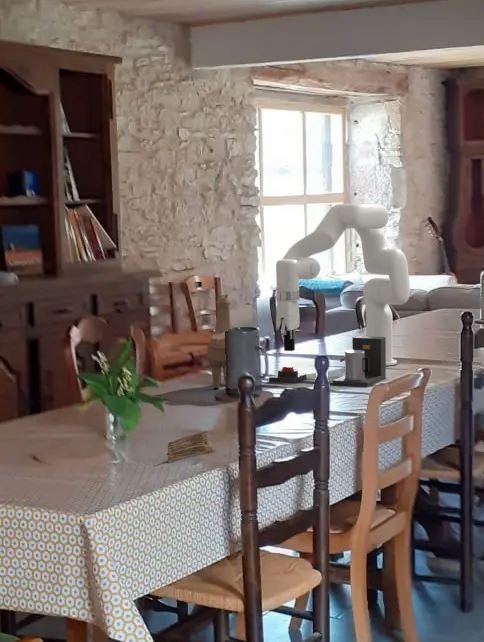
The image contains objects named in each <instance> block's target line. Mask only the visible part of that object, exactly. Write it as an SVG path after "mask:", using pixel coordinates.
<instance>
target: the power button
mask: <svg viewBox="0 0 484 642" xmlns="http://www.w3.org/2000/svg"><path fill="white" fill-rule="evenodd" d="M281 369H282V371H293V369H294V365H282V367H281Z"/></svg>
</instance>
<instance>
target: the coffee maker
mask: <svg viewBox="0 0 484 642" xmlns="http://www.w3.org/2000/svg"><path fill="white" fill-rule="evenodd" d="M351 343H352V350H362V351H365V357H368V358H369V372H365V379H363V380H348V379H345V374H344V375H342V376H340V377H338V378H334V379H333V380H332V385H333V386H345V387H359V388H361V387H362V388H368V387H371V386H373V385H375V384H377V383H379V382H381V381H383V380H385V379H386V378H387V377H386V374H387V372H386V371H387V370H386V369H387V366H386V337H371V336H366V335H356V336H353V337H352V342H351ZM365 369H366V360H365Z"/></svg>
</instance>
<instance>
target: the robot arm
mask: <svg viewBox="0 0 484 642" xmlns="http://www.w3.org/2000/svg"><path fill="white" fill-rule="evenodd" d="M389 220H390V215H389V210H388V209H387V208H386V206H384V205H382V204H363V203H338V204H335V205H333V206H331V207H330V209H329V210H328V211H327V213H326V214H325V216H324V217H323V218H322V220H321V221H320V223H318V225H317V226H316V228H315V229H314V230H313V231H312V232H311V233H309V234H307V235H305V236H304V237H303V238H301V239H299V240H298V241H297V242H295V243H294V244H292V246H291V247H290V248H289V249H288V250H287V252H286V253H285V255H283V258H282V259H278V260H277V261H276V263H275V269H276V270H275V272H276V273H275V274H276V275H275V277H276V278H275V279H276V301H277V304H276V311H275V315H276V316H275V329H276V331H280V335H281V336H282V337H283V338H282V339H283V350H284V351H285V352H293V351H295V349H296V344H295V338H296V332H297V330H298V328H299V327H300V323H301V322H300V320H301V319H300V305H299V301H300V280H313V279H315V278H317V277H318V276H319V274H320V273H321V264H320V262H319V261H318V260H317V259H315V258H313V257H312V256H314V255H316V254H319V253H323V252H326V251H328V250H331V249H333V248H334V247H335V246H336V244H337V242H338V241H339V239H340V238H341V237H342V235H343V234H344V233H345V231H346V230H347V229H354V230H355V231H356V232H357V234H358V236H359V238H360V243H361V249H362V257H363V258H362V259H363V264H364V269H365V271H366V272H367V273H368V274H371V275H380V276H375V277H371V278H369V279H367V280H366V281H365V282H364V284H363V287H362V294H363V299H364V304H365V305H364V306H365V336H371V337H386V367H387V366H388V367H389V366H395V365H397V364H398V360H396V359H394V358H393V355H394V352H393V351H394V349H393V347H394V346H393V345H394V344H393V340H394V339H393V337H394V336H393V334H394V333H393V332H394V331H393V325H394V323H393V322H394V320H393V319H394V318H393V312H392V309H391V307H390V306H389V305H391V306H392V305H393V306H403V305H404V304H406V303H407V302H408V301H409V299H410V296H411V284H410V275H409V265H408V259H407V257H406V254H405V253H404V252H403V251H402V250H400V249H398V248H389V247H387V242H386V237H385V233H384V230H383V228H384V227H386V226H387V224H388V223H389ZM381 276H382V277H381ZM383 276H388V277H383Z"/></svg>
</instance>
